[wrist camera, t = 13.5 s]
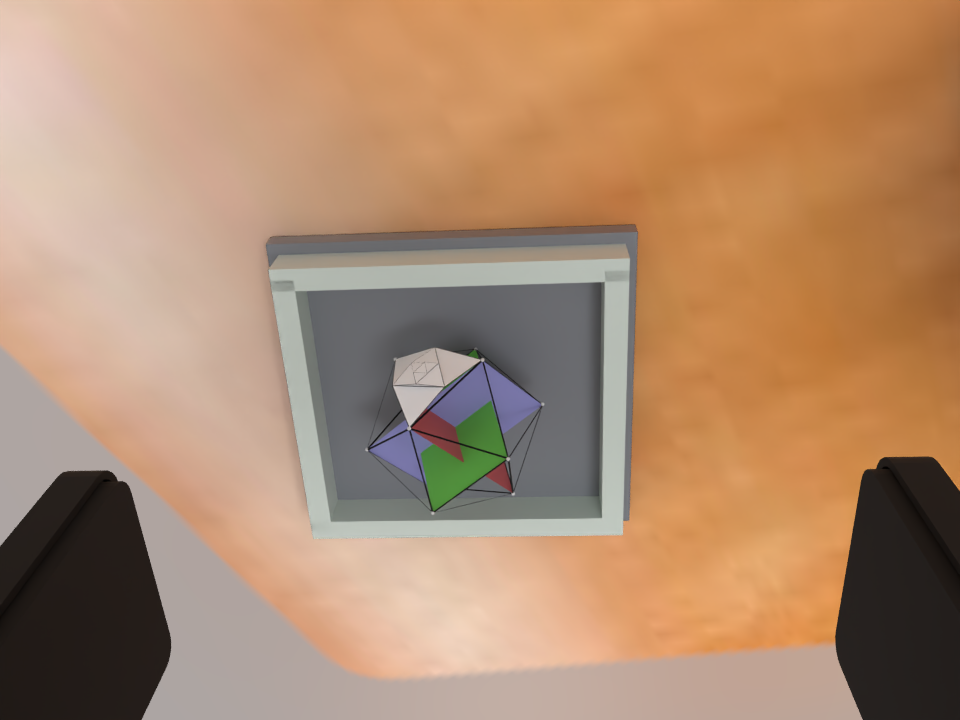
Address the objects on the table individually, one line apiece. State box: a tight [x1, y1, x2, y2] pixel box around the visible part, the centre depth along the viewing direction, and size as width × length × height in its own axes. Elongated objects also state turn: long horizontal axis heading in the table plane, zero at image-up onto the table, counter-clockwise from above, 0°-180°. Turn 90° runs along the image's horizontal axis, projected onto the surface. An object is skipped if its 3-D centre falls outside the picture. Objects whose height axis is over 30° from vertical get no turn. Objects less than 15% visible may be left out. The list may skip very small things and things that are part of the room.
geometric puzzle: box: [365, 347, 544, 515], centre depth 39 cm, size 7×7×8 cm
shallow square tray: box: [266, 225, 638, 539], centre depth 41 cm, size 16×15×3 cm
